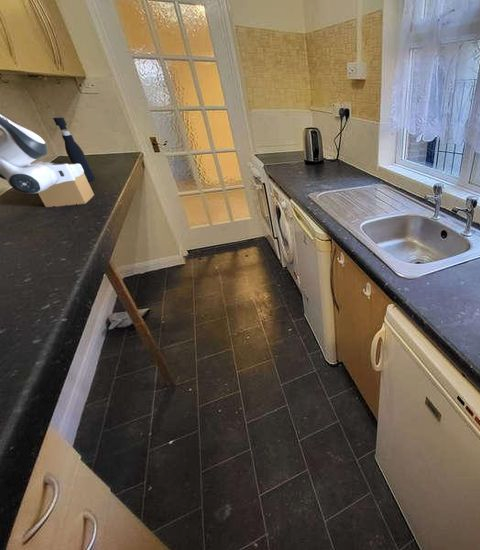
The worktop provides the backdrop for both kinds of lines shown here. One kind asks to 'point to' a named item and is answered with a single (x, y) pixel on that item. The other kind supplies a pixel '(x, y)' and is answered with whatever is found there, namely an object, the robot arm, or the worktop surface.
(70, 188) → the carton
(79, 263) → the worktop surface
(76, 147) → the folded umbrella
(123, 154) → the worktop surface
